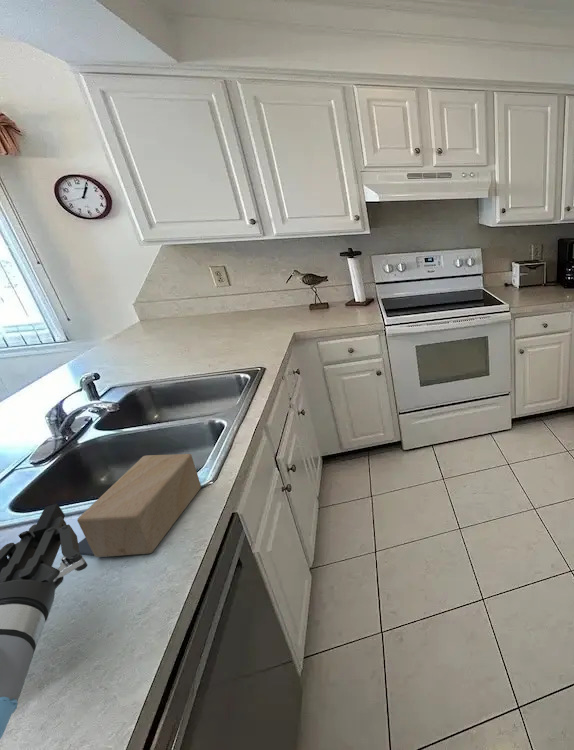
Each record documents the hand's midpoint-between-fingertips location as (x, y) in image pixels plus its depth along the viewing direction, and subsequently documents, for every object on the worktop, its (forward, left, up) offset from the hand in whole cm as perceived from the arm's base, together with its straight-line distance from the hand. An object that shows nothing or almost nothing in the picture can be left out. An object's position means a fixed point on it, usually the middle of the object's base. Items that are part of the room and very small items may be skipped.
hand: (55, 511), depth 69 cm
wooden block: (0, +5, -12) cm, 13 cm away
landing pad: (-9, +9, -17) cm, 21 cm away
